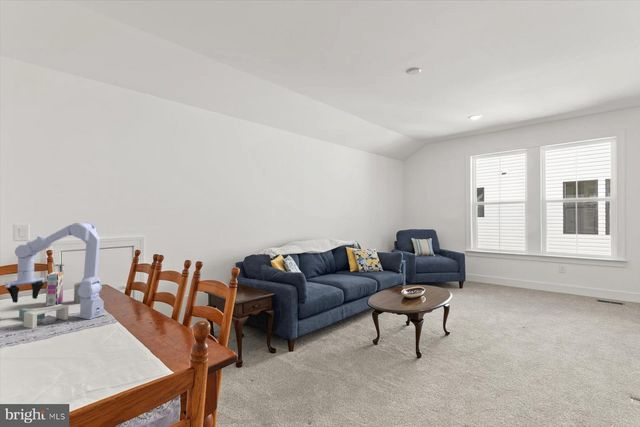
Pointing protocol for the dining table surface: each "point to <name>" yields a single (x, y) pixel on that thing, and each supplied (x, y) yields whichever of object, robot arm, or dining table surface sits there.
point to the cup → (76, 293)
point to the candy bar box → (54, 288)
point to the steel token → (46, 320)
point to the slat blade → (21, 311)
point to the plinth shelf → (31, 316)
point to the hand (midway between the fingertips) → (25, 300)
